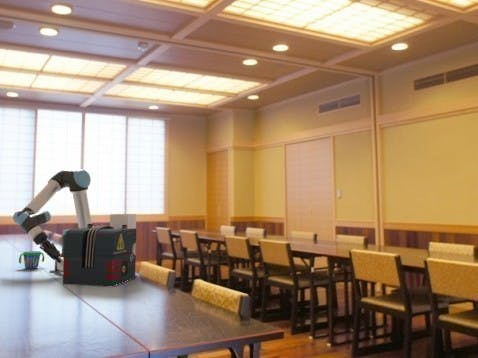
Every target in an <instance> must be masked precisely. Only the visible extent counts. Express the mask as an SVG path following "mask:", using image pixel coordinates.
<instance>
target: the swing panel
mask: <svg viewBox="0 0 478 358" xmlns="http://www.w3.org/2000/svg"><path fill="white" fill-rule="evenodd" d="M61 258H62V257H61ZM62 259H63V260H64V258H62ZM57 269H59V270H62V271H63V268H62V267H61V266H60V264H59V263H58V262H57Z"/></svg>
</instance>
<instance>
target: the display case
mask: <svg viewBox="0 0 478 358" xmlns="http://www.w3.org/2000/svg"><path fill="white" fill-rule="evenodd" d="M109 216H110V217H109V226H112V227H114V228H122V225H127V228H128V229H131V228H136V229H137V214H134V213H110V215H109ZM132 253H133V254H134V255H136V243H135V244H134V245H133V247H132Z"/></svg>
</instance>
